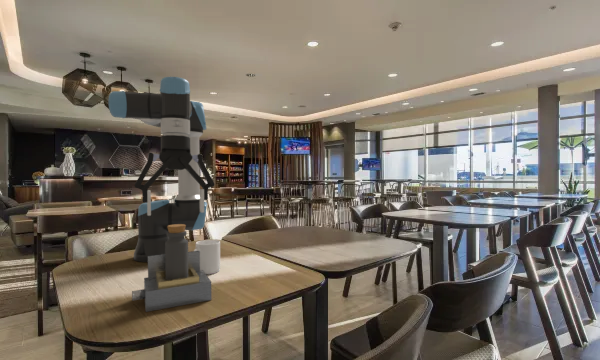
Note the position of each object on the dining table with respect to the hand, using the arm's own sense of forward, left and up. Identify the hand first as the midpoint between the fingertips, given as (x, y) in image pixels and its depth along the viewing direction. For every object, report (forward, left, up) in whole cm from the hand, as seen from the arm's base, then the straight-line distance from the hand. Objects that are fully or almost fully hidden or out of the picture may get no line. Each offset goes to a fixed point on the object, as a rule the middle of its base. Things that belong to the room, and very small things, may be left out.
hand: (176, 213), depth 88 cm
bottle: (0, 0, -18) cm, 18 cm away
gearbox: (0, -1, -23) cm, 23 cm away
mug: (-20, +11, -24) cm, 33 cm away
